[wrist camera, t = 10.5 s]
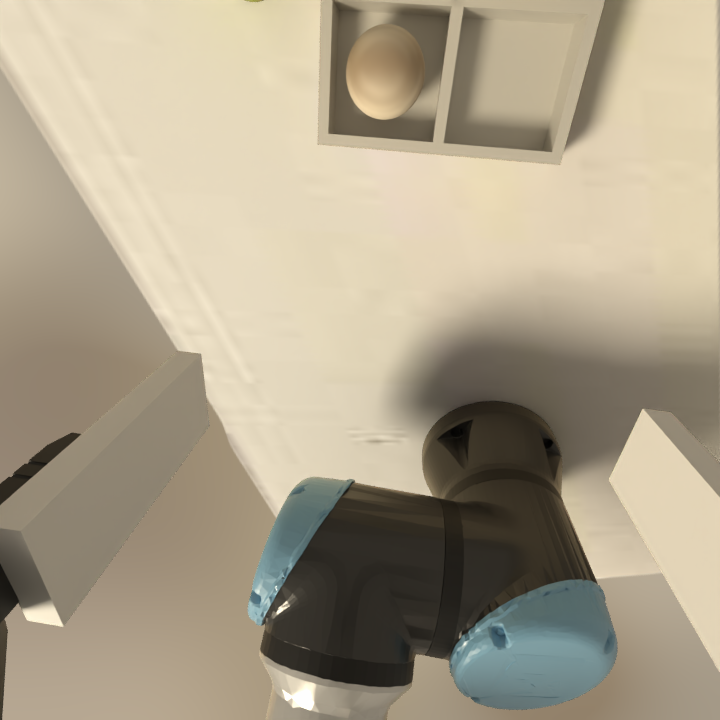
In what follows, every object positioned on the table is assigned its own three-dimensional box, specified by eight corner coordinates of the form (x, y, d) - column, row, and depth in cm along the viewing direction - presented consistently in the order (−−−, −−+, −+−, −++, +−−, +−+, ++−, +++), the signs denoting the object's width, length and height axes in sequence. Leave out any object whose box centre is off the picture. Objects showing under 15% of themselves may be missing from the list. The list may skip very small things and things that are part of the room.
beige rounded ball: (418, 124, 33) (419, 120, 28) (349, 118, 33) (338, 114, 29) (429, 36, 30) (432, 16, 26) (354, 31, 31) (342, 10, 26)
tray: (547, 162, 34) (560, 164, 31) (326, 144, 35) (317, 144, 32) (632, -170, 25) (663, -213, 22) (335, -179, 27) (325, -220, 24)
